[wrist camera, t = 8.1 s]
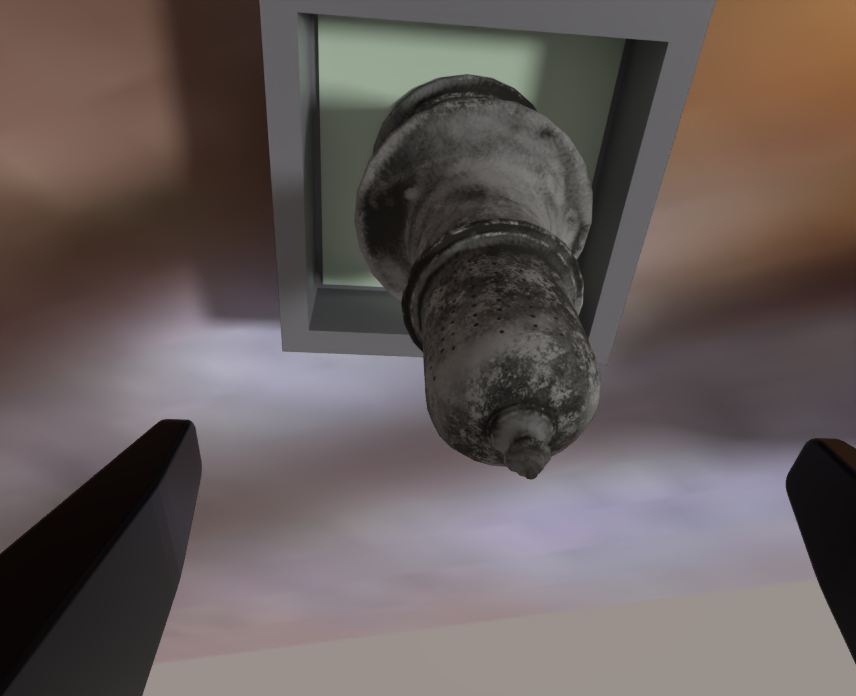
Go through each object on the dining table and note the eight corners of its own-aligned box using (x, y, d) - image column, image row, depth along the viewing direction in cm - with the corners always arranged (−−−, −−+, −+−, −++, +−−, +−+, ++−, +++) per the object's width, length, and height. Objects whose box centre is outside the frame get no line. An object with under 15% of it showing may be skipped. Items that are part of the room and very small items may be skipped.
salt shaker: (591, 206, 20) (785, 523, 10) (422, 289, 21) (444, 637, 11) (512, 17, 16) (678, 207, 7) (320, 131, 18) (228, 423, 8)
